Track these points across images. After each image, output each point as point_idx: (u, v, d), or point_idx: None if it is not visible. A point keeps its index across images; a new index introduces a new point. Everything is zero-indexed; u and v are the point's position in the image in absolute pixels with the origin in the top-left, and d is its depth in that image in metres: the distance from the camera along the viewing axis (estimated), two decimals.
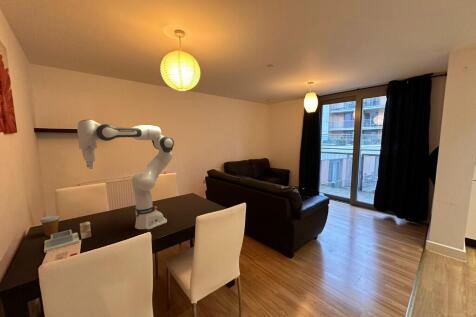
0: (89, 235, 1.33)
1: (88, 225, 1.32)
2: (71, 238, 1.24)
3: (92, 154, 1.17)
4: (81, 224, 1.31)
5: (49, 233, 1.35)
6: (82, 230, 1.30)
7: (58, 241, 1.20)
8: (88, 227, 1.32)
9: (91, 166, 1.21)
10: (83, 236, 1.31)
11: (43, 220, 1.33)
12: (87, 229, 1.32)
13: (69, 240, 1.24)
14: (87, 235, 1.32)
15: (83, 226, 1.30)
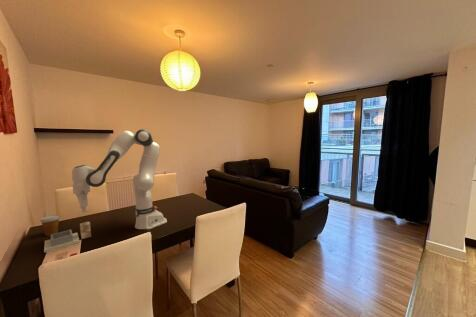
0: (89, 235, 1.33)
1: (88, 225, 1.32)
2: (71, 238, 1.24)
3: (85, 200, 1.24)
4: (81, 224, 1.31)
5: (49, 233, 1.35)
6: (82, 230, 1.30)
7: (58, 241, 1.20)
8: (88, 227, 1.32)
9: (84, 210, 1.28)
10: (83, 236, 1.31)
11: (43, 220, 1.33)
12: (87, 229, 1.32)
13: (69, 240, 1.24)
14: (87, 235, 1.32)
15: (83, 226, 1.30)
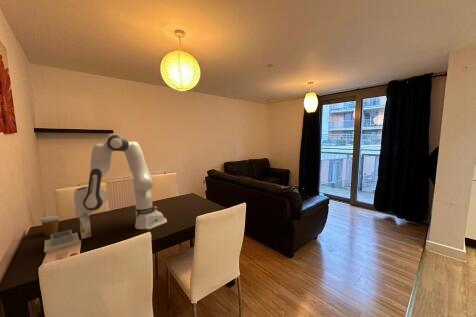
0: (89, 235, 1.33)
1: None
2: (71, 238, 1.24)
3: (87, 222, 1.26)
4: (81, 224, 1.31)
5: (49, 233, 1.35)
6: (82, 230, 1.30)
7: (58, 241, 1.20)
8: None
9: (86, 231, 1.30)
10: (83, 236, 1.31)
11: (43, 220, 1.33)
12: None
13: (69, 240, 1.24)
14: (88, 235, 1.32)
15: None
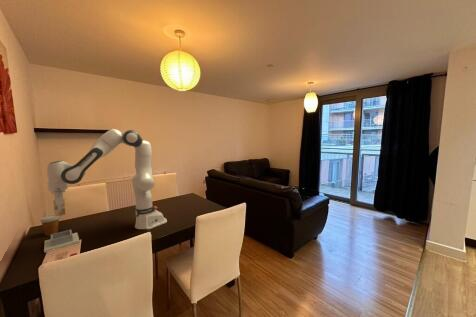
0: (63, 213, 1.23)
1: None
2: (71, 238, 1.24)
3: (60, 197, 1.16)
4: None
5: (49, 233, 1.35)
6: (55, 207, 1.20)
7: (58, 241, 1.20)
8: None
9: (60, 208, 1.21)
10: (56, 213, 1.21)
11: (43, 220, 1.33)
12: None
13: (69, 240, 1.24)
14: (61, 213, 1.22)
15: None
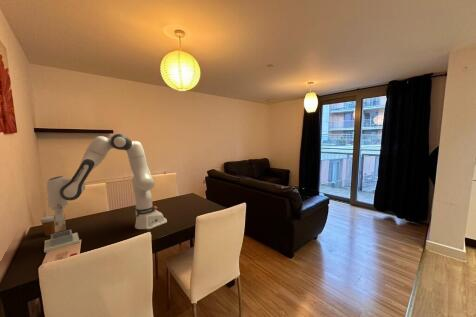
0: (64, 228, 1.24)
1: None
2: (71, 238, 1.24)
3: (61, 214, 1.17)
4: None
5: (49, 233, 1.35)
6: (56, 223, 1.21)
7: (58, 241, 1.20)
8: None
9: (60, 223, 1.21)
10: (57, 229, 1.21)
11: (43, 220, 1.33)
12: None
13: (69, 240, 1.24)
14: (62, 229, 1.23)
15: None
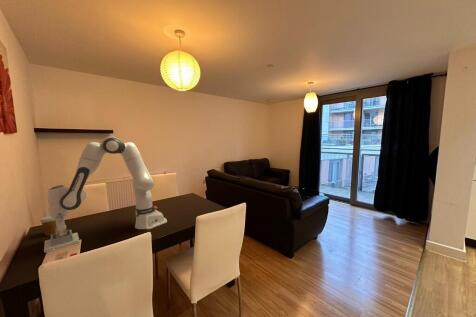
0: None
1: None
2: (71, 238, 1.24)
3: (62, 223, 1.17)
4: (56, 227, 1.23)
5: (49, 233, 1.35)
6: (57, 234, 1.22)
7: (58, 241, 1.20)
8: (64, 231, 1.24)
9: (62, 233, 1.21)
10: None
11: (43, 220, 1.33)
12: None
13: (69, 240, 1.24)
14: None
15: None
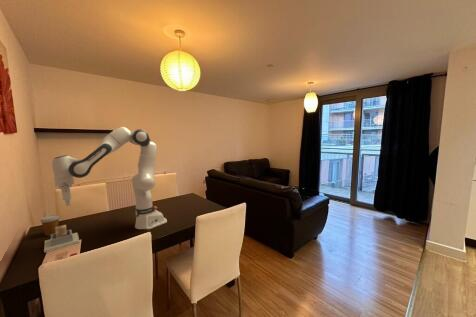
0: None
1: (64, 228, 1.24)
2: (71, 238, 1.24)
3: (68, 192, 1.16)
4: (56, 227, 1.23)
5: (49, 233, 1.35)
6: (57, 234, 1.22)
7: (58, 241, 1.20)
8: (64, 231, 1.24)
9: (68, 203, 1.19)
10: None
11: (43, 220, 1.33)
12: (62, 232, 1.23)
13: (69, 240, 1.24)
14: None
15: (58, 230, 1.22)
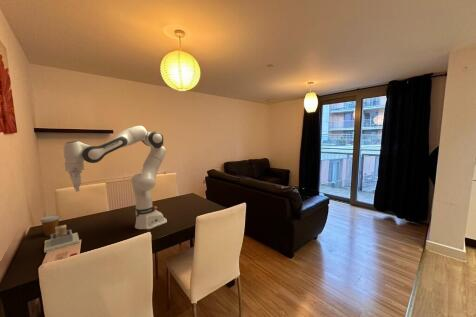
0: None
1: (64, 228, 1.24)
2: (71, 238, 1.24)
3: (78, 177, 1.15)
4: (56, 227, 1.23)
5: (49, 233, 1.35)
6: (57, 234, 1.22)
7: (58, 241, 1.20)
8: (64, 231, 1.24)
9: (78, 189, 1.18)
10: None
11: (43, 220, 1.33)
12: (62, 232, 1.23)
13: (69, 240, 1.24)
14: None
15: (58, 230, 1.22)
